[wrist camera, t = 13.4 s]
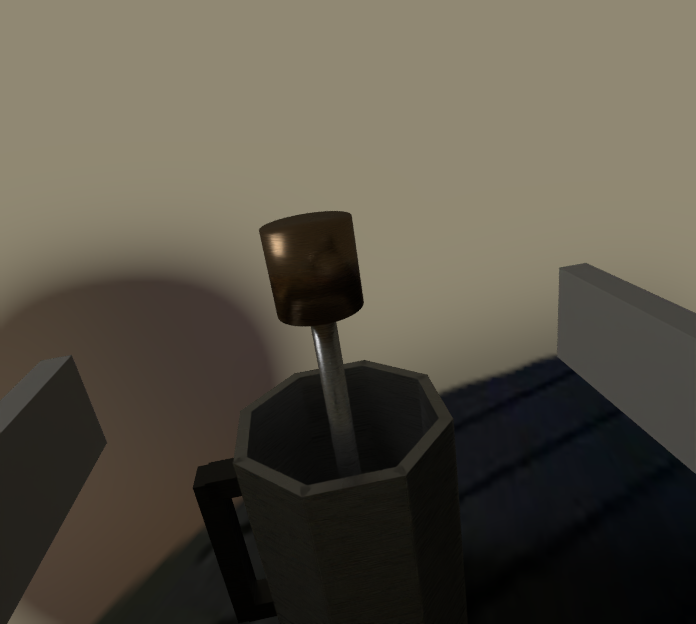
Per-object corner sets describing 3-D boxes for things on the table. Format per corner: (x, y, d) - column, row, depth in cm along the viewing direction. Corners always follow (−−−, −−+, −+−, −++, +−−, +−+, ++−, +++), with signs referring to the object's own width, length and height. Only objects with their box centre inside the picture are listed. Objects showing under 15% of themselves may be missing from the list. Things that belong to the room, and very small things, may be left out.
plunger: (415, 561, 34) (371, 197, 24) (447, 665, 27) (404, 224, 18) (317, 583, 33) (231, 220, 24) (326, 694, 27) (213, 257, 17)
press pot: (435, 549, 36) (415, 348, 30) (494, 711, 26) (483, 462, 20) (260, 587, 35) (201, 389, 29) (253, 770, 25) (159, 530, 19)
